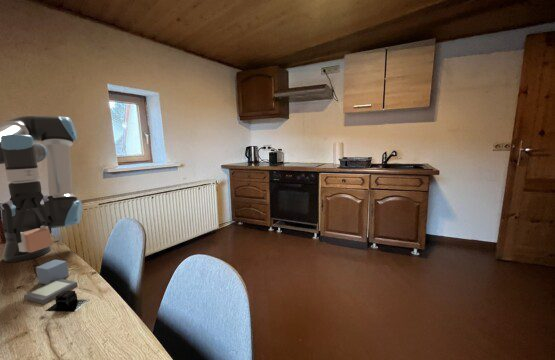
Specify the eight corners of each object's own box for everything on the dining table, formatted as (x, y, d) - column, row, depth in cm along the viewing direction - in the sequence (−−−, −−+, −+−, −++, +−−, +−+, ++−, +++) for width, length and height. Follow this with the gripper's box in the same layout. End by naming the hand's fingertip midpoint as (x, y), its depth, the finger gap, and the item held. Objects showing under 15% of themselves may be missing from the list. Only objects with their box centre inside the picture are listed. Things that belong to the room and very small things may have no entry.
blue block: (57, 274, 94) (54, 259, 93) (68, 276, 92) (66, 261, 91) (38, 282, 88) (35, 267, 87) (50, 285, 86) (47, 269, 85)
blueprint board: (58, 282, 88) (58, 278, 88) (77, 285, 86) (76, 281, 85) (24, 299, 78) (23, 295, 78) (43, 303, 76) (43, 299, 76)
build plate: (37, 314, 72) (34, 300, 72) (60, 298, 79) (57, 285, 79) (77, 315, 72) (74, 301, 71) (96, 299, 79) (94, 286, 78)
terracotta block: (40, 244, 89) (38, 228, 88) (51, 245, 87) (49, 229, 86) (19, 250, 83) (16, 233, 82) (30, 252, 81) (27, 235, 81)
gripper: (-9, 186, 72) (6, 260, 75) (63, 177, 90) (72, 238, 93) (-24, 185, 74) (-10, 258, 77) (49, 177, 92) (59, 236, 95)
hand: (35, 247), depth 85 cm, fingers closed on terracotta block, 6 cm apart
